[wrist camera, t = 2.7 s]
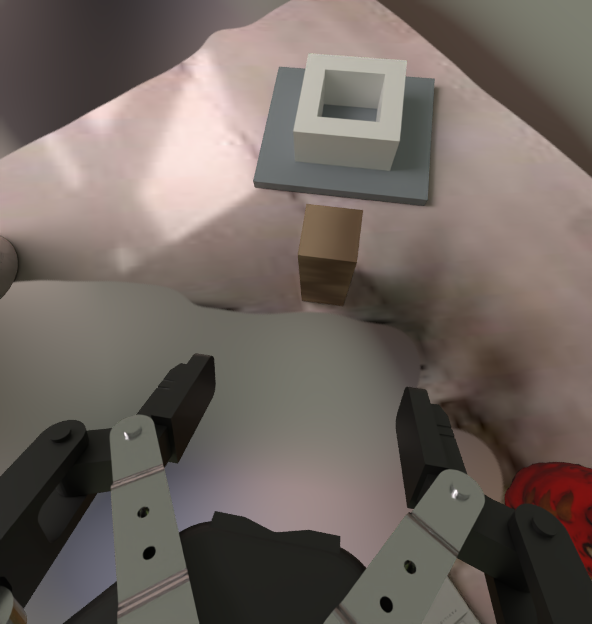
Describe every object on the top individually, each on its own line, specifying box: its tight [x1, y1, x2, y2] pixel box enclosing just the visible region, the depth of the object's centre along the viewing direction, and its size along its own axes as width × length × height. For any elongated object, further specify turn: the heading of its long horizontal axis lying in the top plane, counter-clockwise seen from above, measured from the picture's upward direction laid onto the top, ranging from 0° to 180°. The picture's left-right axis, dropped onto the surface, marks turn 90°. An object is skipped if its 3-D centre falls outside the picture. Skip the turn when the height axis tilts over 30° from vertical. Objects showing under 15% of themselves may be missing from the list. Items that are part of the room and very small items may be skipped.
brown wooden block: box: [298, 204, 363, 306], centre depth 28 cm, size 4×4×10 cm
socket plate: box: [253, 53, 435, 206], centre depth 35 cm, size 18×16×5 cm
